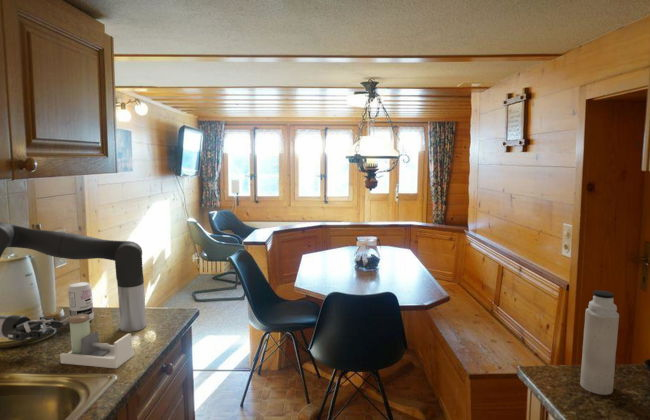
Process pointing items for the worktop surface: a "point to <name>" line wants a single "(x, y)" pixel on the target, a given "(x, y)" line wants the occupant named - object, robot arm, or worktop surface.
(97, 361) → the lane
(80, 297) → the supplement can
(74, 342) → the jar
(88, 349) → the pusher
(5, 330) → the robot arm
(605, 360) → the thermos bottle
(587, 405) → the worktop surface
